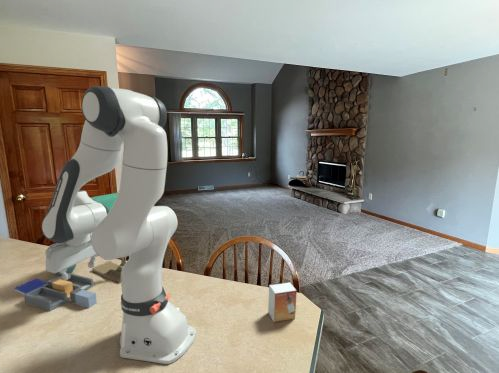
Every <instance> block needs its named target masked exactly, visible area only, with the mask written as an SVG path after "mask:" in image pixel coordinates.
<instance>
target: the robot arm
mask: <svg viewBox="0 0 499 373" xmlns="http://www.w3.org/2000/svg"><path fill="white" fill-rule="evenodd" d="M81 113H82V116H83V118H84V120H85V121H84V123H83V127H82V132H81V137H80V142H79V146H78V148H77V150H76V151H75V153H74V155H73V156H72V157H71V158H70V159H69V160H68V161H66V162H65V163H64V165H63V166H62V169H61V172H60V174H59V177H58V180H57V183H56V187H55V189H54V193H53V195H52V198H51V201H50V205H49V207H48V209H47V211H46V213H45V215H44V217H43V219H42V221H41V231H42V233H43V236H44V237H45V238H46V239H48V240H49V241H51V242H54V243H52V244H51V245H49V246H48V247H47V249H45V251H44V252H45V253H44V254H45V270H46V271H47V272H48V273H51V274H56V273H57V272H60V273H61V274H62V277H63V279H64V280H68V279H70V278H71V277H70V276H71V275H70V274H69V273H66V272H65V271H67V268H68V267H70V266H73V265H75V264H76V265H78V264H79V263H81V262H83V261H85V260H88V259H89V258H90V259H89V262H87V267H88V268H90V269H92V268H93V267H96V263H95V262H96V260H97V258H98V257H100V258H101V259H103V260H105V261H112V260H117V259H118V260H119V259H121V258H123V257H126V258H127V257H129V259H128V260H126V263H125V265H124V266H123V268H122V271H121V283H120V284H121V295H120V305H121V310H122V322H121V331H120V332H121V333H120V337H119V346H120V350H119V357H120V358H123V359H130V360H137V361H145V362H149V363H150V362H152V363H156V364H157V363H158V364H164V365H170V364H172V363H174V362H176V361H177V360H178V359H180V358H181V357H182V356H183V355H185V353H186V352H187V351H188V350H189V349H190V347H191V345H193V342H194V341H195V338H196V335H197V331H196V328H195V327H193V326H191V325H189V324H188V320H187V317H186V315H185V314H184V313H183V312H182V311H181V309H180V308H179V307H177V306H175V305H174V304H173V303H171V301H169V299H170V298H171V293H168V294H167V293H166V291H165V289H164V286H163V263H164V258H165V253H166V250H167V247H168V244H169V243H170V240H171V238H172V237H173V235H174V233H175V232H176V231H177V229H178V226H179V225H178V224H179V223H178V222H179V221H178V218H177V215H176V213H175V211H174V210H173V209H172V208H170V207H169V206H167V205H157V206H156V205H155V204H156V203H157V202H158V201H159V200H160V199H161V198H162V196H163V195H164V193H165V185H166V177H167V176H166V175H167V167H168V154H169V153H168V139H167V133H166V131H165V130H166V129H164V127H165V126H166V124H167V119H168V110H167V108H166V105H165V104H164V102H162V100H160V99H158V98H157V97H155V96H152V95H147V94H143V93H140V92H135V91H133V90H130V89H125V88H117V87H110V86H107V85H98V86H97V85H96V86H91V87H88V88H87V89H86V91H85V92H84V93H83V96H82V98H81ZM121 160H122V164H121V174H120V181H119V182H120V184H119V190H118V192H117V193H118V196H117V198H116V200H115V202H114V204H113V206H112V208H111V210H110V211H109V210H108V208H107V207H106V206H105V205H103V204H102V203H99V202H96V201H94V200H92V199H91V197H90V196H89V195H88V192H87V190H84V189H83V190H82V189H81V188H83V186H84V185H86V184H87V183H89V182H91V181H93V180H94V179H96V178H98V177H100V176H101V177H102V176H103V175H105V174H108V173H110V172H112V171H113V170H114V169H116V167H118V165H119V163H120V161H121Z"/></svg>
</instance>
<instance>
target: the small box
mask: <svg viewBox="0 0 499 373" xmlns="http://www.w3.org/2000/svg"><path fill="white" fill-rule="evenodd" d="M297 292H298V291H297V289H296V288H295V287H294V285H293V284H292V282H285V283H277V284H269V285H268V306H267V313H268V315H269V316H270V318H271V321H272V322H274V323H277V322H282V321H288V320H289V321H290V320H295V319H296V310H297V307H296V306H297Z"/></svg>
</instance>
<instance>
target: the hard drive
mask: <svg viewBox="0 0 499 373" xmlns="http://www.w3.org/2000/svg"><path fill="white" fill-rule="evenodd" d="M46 284H48V281H47V282H46V281H44V280H42V279H40V278H34V279H32V280H30V281H27V282H24V283H22V284H19V285H17V286H15V287H14V288H13V290H14V291H15V292H18V293H20V294H22V295H25V294H27V293H29V292H31V291H33V290H35V289H37V288H39V287H42V286H44V285H46Z"/></svg>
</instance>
